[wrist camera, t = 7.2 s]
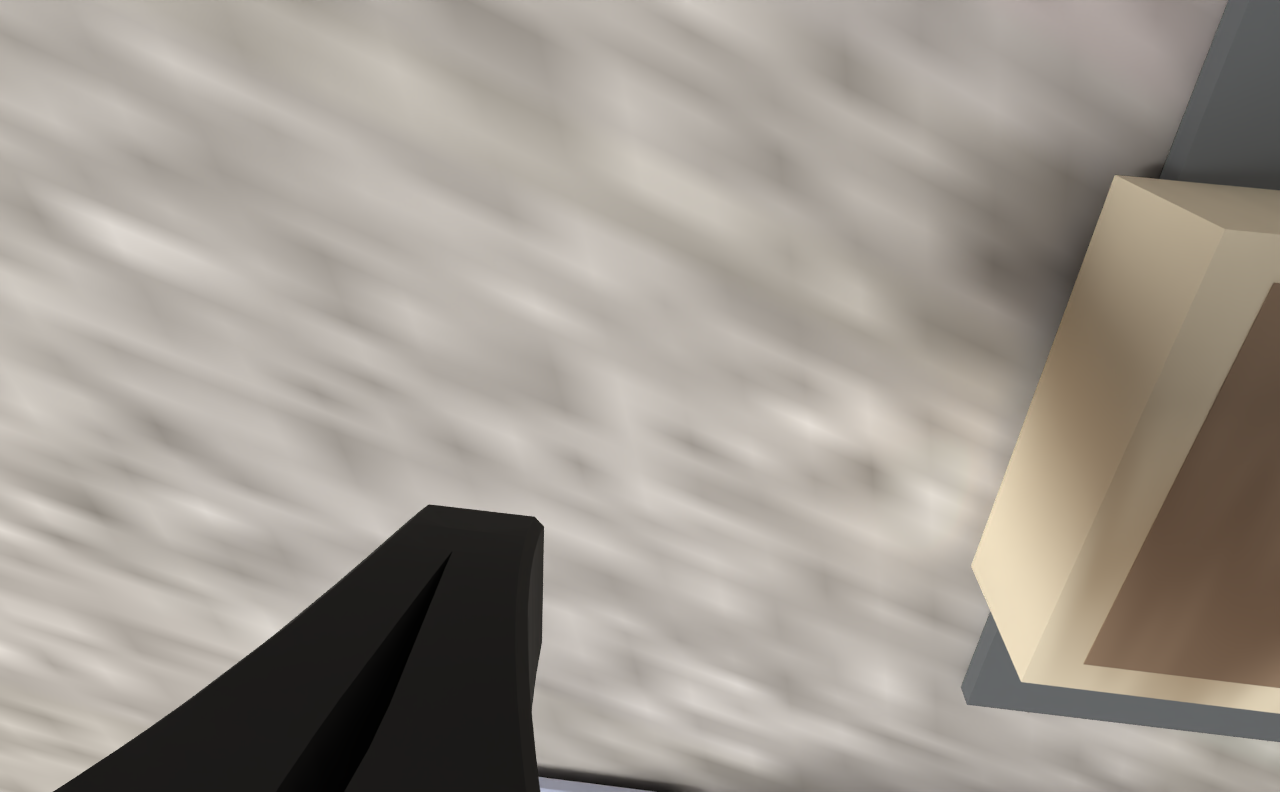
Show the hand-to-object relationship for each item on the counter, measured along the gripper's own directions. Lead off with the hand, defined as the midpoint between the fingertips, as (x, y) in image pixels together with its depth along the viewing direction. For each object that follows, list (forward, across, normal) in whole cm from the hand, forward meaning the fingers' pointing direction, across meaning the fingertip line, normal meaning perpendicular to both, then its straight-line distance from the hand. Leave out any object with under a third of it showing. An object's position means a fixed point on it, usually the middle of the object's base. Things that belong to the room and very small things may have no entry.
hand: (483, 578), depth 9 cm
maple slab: (+5, -8, 0) cm, 10 cm away
